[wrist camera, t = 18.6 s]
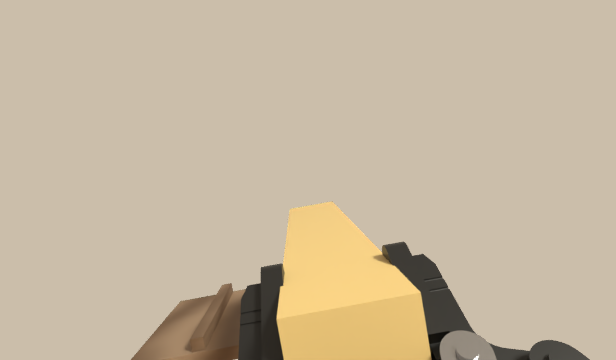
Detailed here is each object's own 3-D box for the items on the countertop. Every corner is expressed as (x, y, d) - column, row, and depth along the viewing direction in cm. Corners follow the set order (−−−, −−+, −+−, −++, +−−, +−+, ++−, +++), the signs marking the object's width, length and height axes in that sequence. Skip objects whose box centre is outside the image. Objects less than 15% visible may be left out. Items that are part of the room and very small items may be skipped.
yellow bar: (339, 243, 31) (332, 201, 31) (443, 431, 9) (420, 292, 9) (297, 251, 31) (289, 209, 31) (301, 459, 9) (276, 319, 9)
